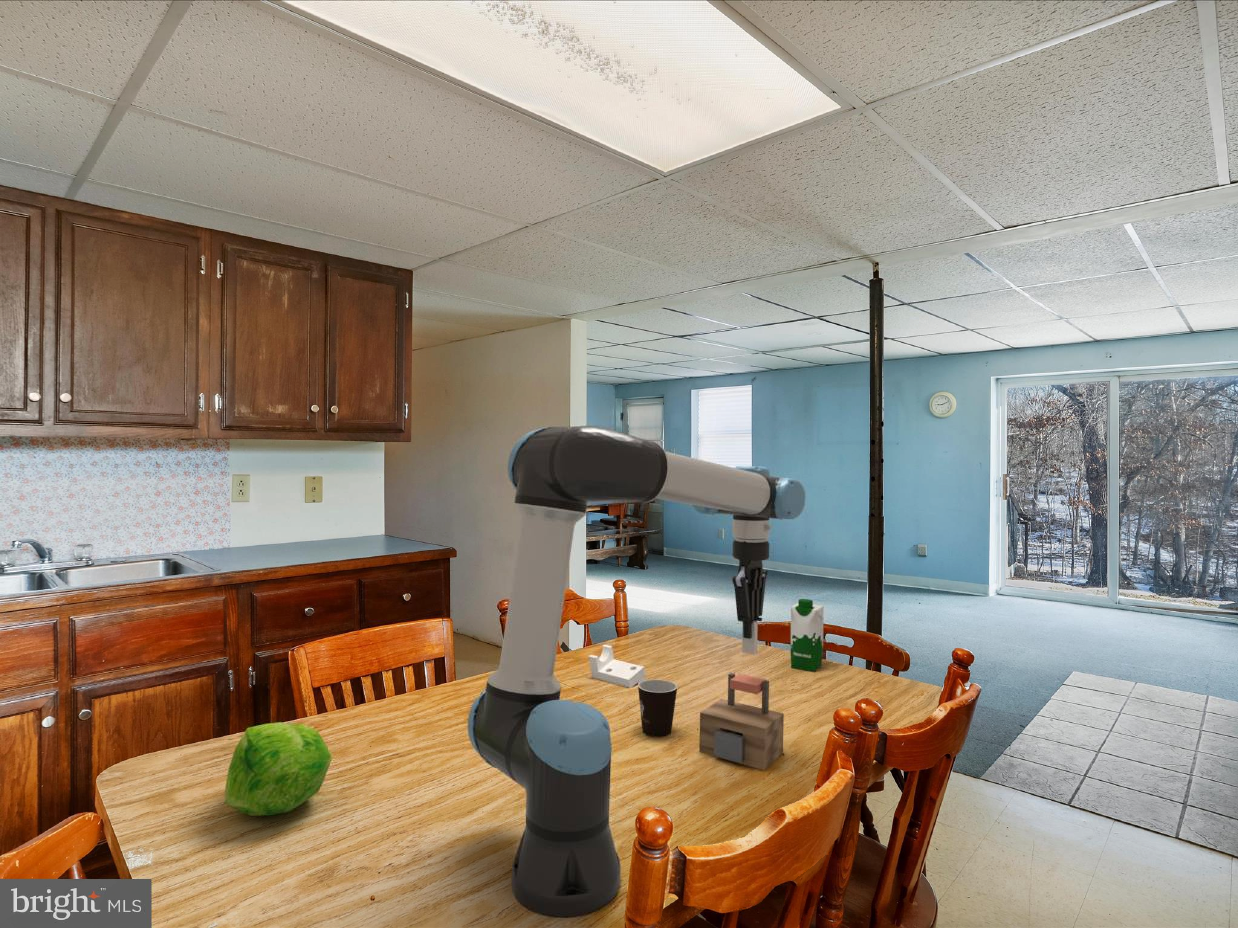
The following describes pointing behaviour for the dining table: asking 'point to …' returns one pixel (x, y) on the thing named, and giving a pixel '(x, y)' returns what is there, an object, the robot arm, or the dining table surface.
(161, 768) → the dining table surface
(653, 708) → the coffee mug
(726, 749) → the pin
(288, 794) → the lettuce
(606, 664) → the bracket
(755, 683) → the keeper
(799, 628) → the milk carton
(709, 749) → the block
